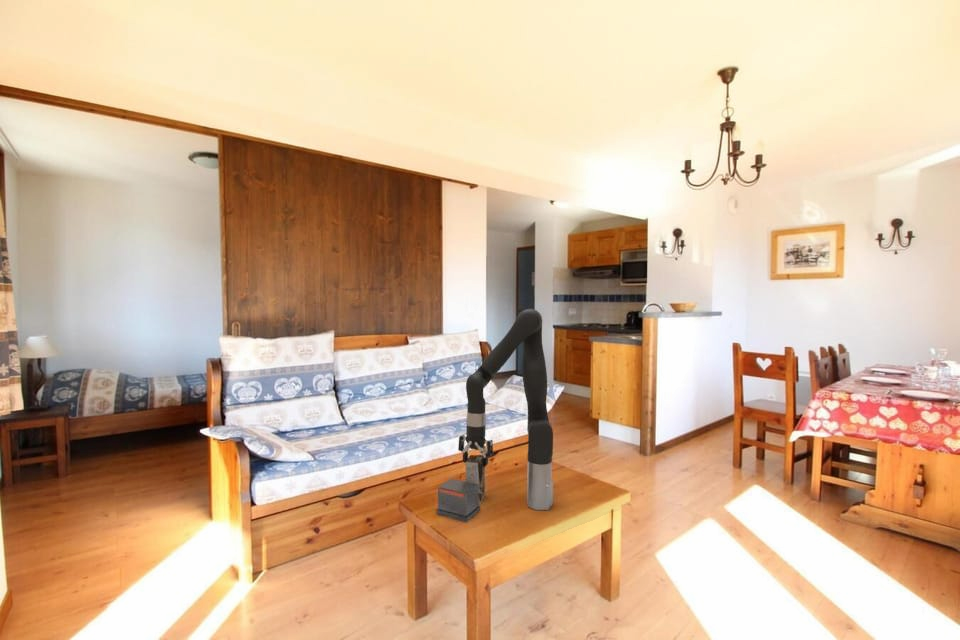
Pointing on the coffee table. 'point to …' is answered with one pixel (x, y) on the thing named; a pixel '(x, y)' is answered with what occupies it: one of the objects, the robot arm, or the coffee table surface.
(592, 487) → the coffee table surface
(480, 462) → the coffee box
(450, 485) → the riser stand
